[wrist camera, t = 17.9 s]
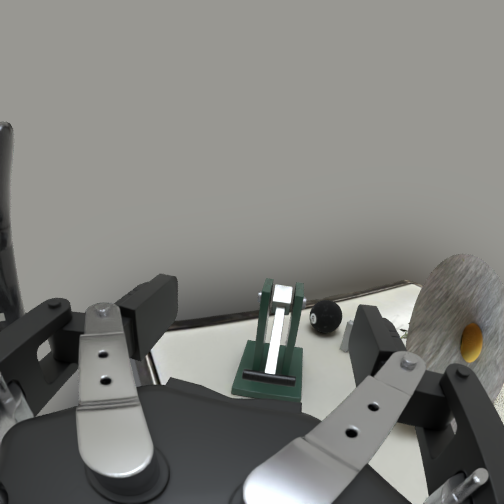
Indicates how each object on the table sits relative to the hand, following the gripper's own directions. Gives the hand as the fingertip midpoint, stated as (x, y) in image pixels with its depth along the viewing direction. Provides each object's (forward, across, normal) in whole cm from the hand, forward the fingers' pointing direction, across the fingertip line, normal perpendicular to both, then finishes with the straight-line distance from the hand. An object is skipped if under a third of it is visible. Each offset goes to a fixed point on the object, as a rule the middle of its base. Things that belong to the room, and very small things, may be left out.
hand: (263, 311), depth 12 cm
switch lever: (+18, -1, +13) cm, 22 cm away
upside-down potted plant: (+20, -28, +22) cm, 40 cm away
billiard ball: (+37, -9, +22) cm, 44 cm away
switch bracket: (+22, -1, +22) cm, 31 cm away
